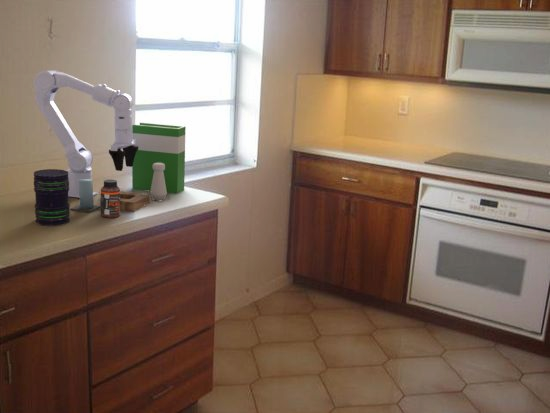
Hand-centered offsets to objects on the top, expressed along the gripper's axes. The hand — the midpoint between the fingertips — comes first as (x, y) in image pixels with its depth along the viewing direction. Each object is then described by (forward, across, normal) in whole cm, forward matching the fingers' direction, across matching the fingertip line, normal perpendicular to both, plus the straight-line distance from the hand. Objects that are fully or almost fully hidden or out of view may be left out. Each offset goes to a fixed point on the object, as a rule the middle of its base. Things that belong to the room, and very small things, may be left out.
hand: (124, 168), depth 214 cm
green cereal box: (+11, +16, -5) cm, 20 cm away
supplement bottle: (+11, -22, -7) cm, 26 cm away
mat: (+10, -19, +4) cm, 22 cm away
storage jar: (+10, -35, +6) cm, 37 cm away
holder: (+10, -9, -5) cm, 15 cm away
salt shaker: (+11, +3, -12) cm, 16 cm away
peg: (+10, -19, +4) cm, 22 cm away
